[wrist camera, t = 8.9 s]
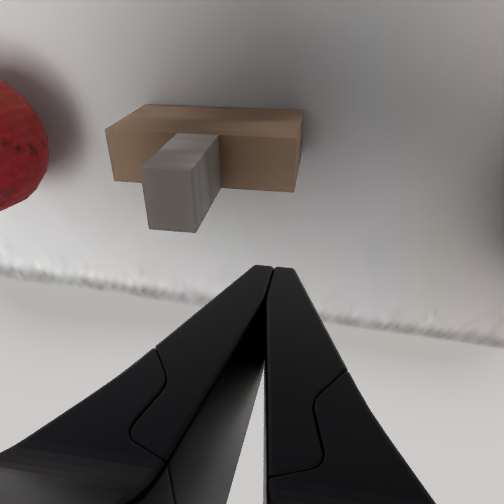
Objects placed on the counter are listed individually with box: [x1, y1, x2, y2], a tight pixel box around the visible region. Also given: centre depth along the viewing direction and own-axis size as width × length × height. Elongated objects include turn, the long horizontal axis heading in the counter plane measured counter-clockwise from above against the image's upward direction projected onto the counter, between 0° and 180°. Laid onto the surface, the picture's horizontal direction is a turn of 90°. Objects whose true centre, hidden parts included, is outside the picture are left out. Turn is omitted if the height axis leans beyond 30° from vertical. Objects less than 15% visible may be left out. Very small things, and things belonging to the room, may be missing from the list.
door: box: [105, 105, 303, 233], centre depth 16 cm, size 7×2×8 cm, turn 90°
